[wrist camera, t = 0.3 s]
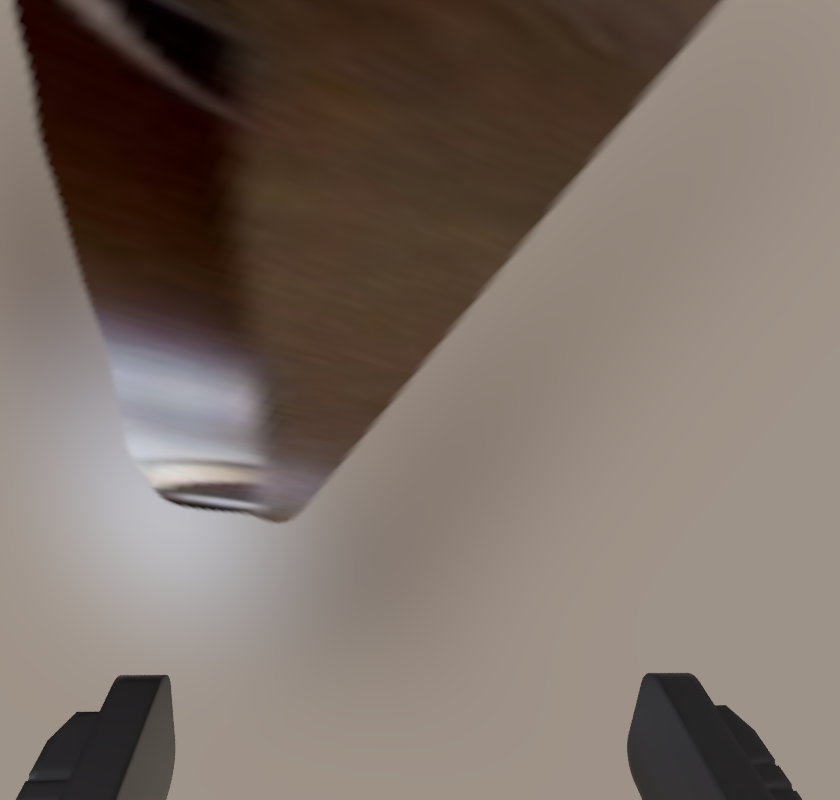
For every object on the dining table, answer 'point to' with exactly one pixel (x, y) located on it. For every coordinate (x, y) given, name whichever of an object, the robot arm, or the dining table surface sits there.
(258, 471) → the dining table surface
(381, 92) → the dining table surface
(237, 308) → the dining table surface
